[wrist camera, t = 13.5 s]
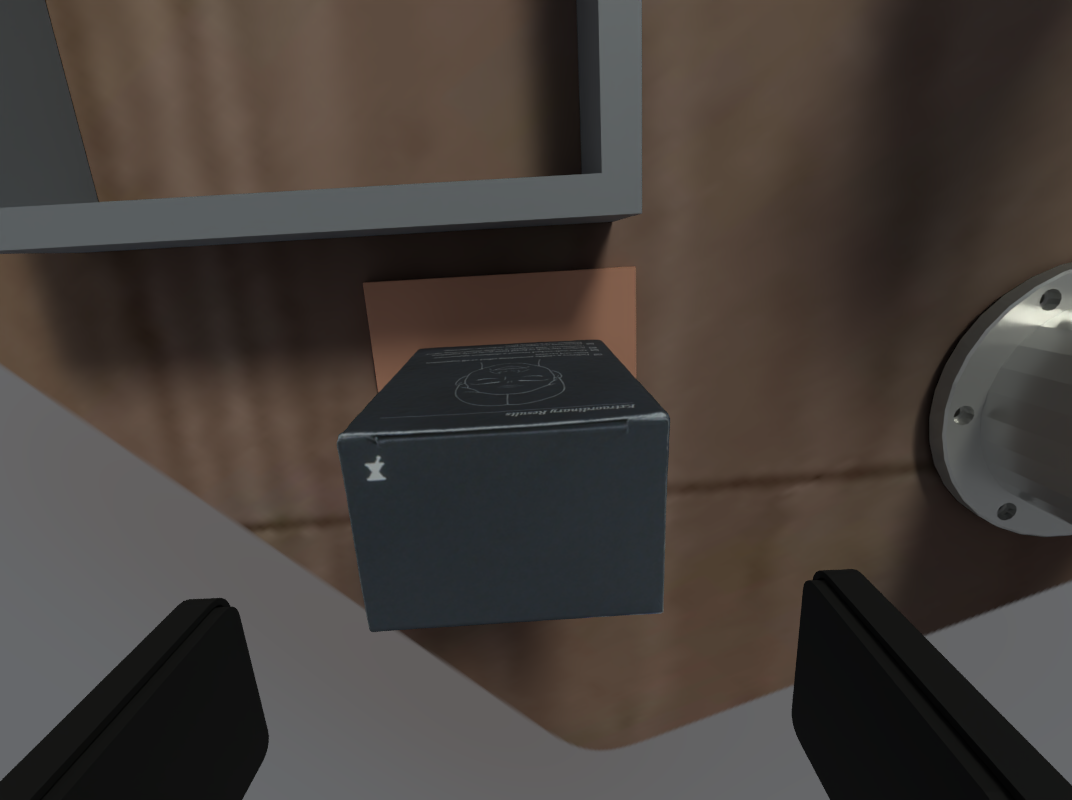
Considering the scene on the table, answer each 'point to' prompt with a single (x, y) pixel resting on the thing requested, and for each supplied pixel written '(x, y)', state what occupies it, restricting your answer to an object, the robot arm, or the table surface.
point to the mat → (501, 313)
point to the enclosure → (90, 226)
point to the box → (508, 488)
